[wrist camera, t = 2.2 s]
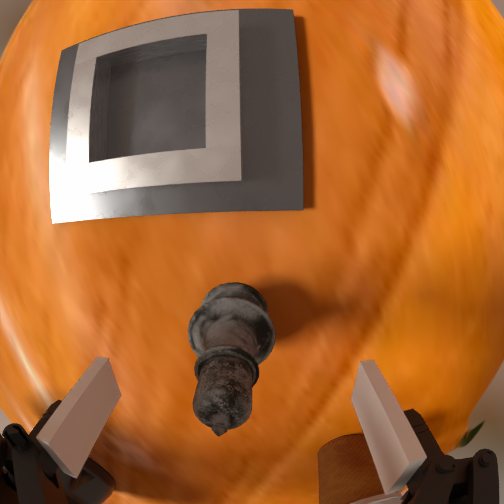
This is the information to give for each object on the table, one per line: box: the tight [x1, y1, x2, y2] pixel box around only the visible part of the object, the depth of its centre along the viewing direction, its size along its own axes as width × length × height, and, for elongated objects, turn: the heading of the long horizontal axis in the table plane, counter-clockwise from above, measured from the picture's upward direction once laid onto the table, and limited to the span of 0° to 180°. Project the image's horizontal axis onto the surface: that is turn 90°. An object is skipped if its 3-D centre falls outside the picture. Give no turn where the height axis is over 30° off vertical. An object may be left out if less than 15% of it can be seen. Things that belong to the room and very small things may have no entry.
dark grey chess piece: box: [188, 283, 275, 436], centre depth 16 cm, size 6×6×12 cm
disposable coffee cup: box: [318, 435, 403, 504], centre depth 20 cm, size 10×10×12 cm
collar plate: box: [49, 9, 303, 223], centre depth 16 cm, size 20×16×4 cm
